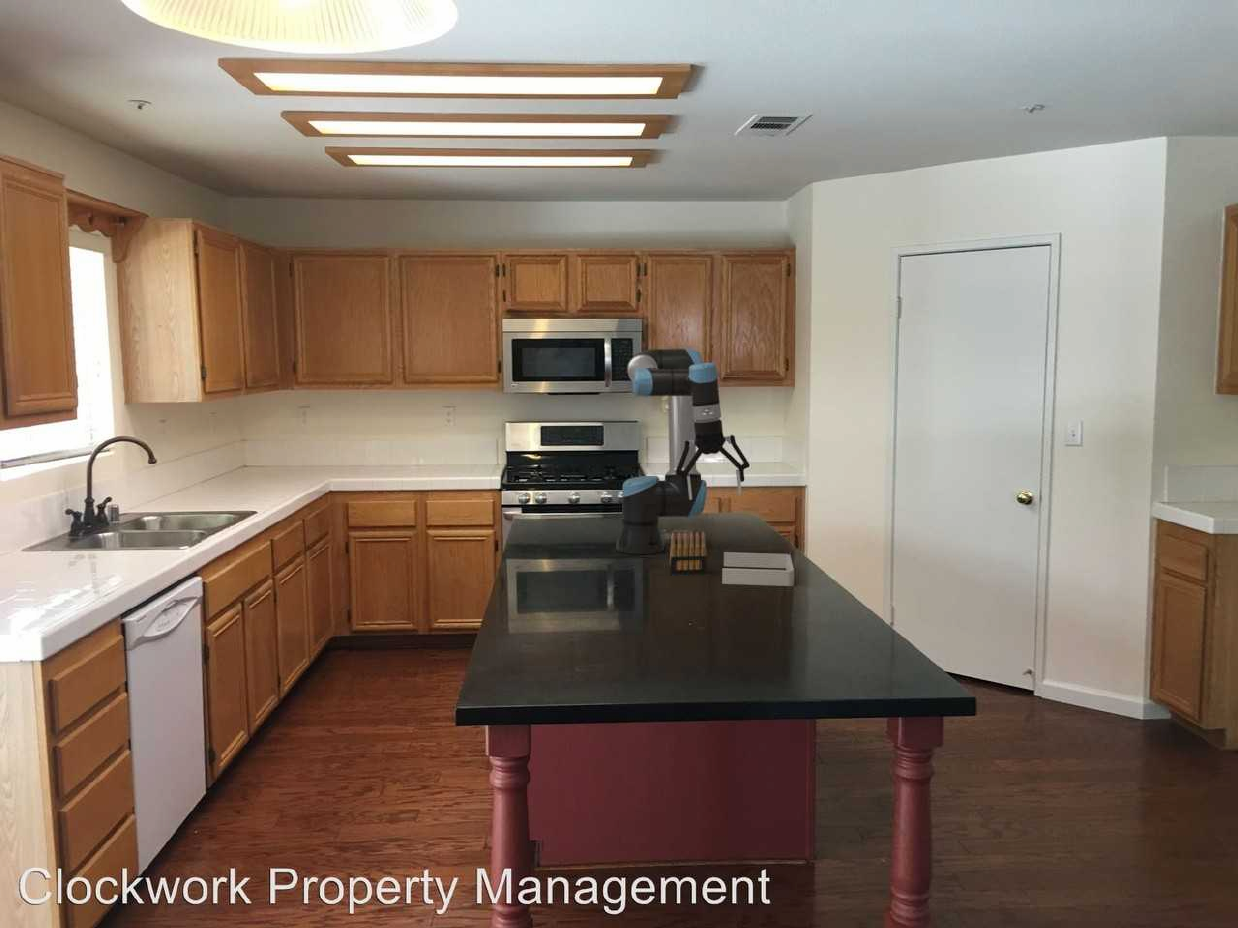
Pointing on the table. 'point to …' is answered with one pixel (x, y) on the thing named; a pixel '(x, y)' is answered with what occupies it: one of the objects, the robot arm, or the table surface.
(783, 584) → the box
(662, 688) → the table surface
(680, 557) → the ammunition clip
